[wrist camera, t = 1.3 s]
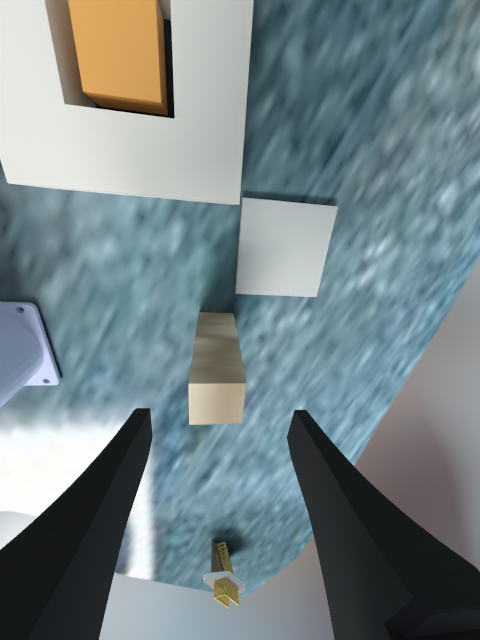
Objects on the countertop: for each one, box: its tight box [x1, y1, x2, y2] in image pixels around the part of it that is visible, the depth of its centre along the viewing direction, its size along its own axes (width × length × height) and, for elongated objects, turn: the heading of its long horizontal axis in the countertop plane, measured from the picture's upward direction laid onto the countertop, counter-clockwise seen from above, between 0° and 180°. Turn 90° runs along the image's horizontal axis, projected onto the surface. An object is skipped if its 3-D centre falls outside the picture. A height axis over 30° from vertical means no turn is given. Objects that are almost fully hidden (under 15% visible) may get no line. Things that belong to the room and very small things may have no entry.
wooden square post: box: [189, 312, 246, 425], centre depth 17 cm, size 3×3×9 cm
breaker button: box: [68, 0, 168, 115], centre depth 11 cm, size 4×4×2 cm
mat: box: [235, 198, 338, 297], centre depth 18 cm, size 7×7×1 cm
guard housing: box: [0, 0, 254, 205], centre depth 11 cm, size 12×12×4 cm
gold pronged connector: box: [203, 540, 245, 608], centre depth 37 cm, size 12×18×6 cm, turn 20°
